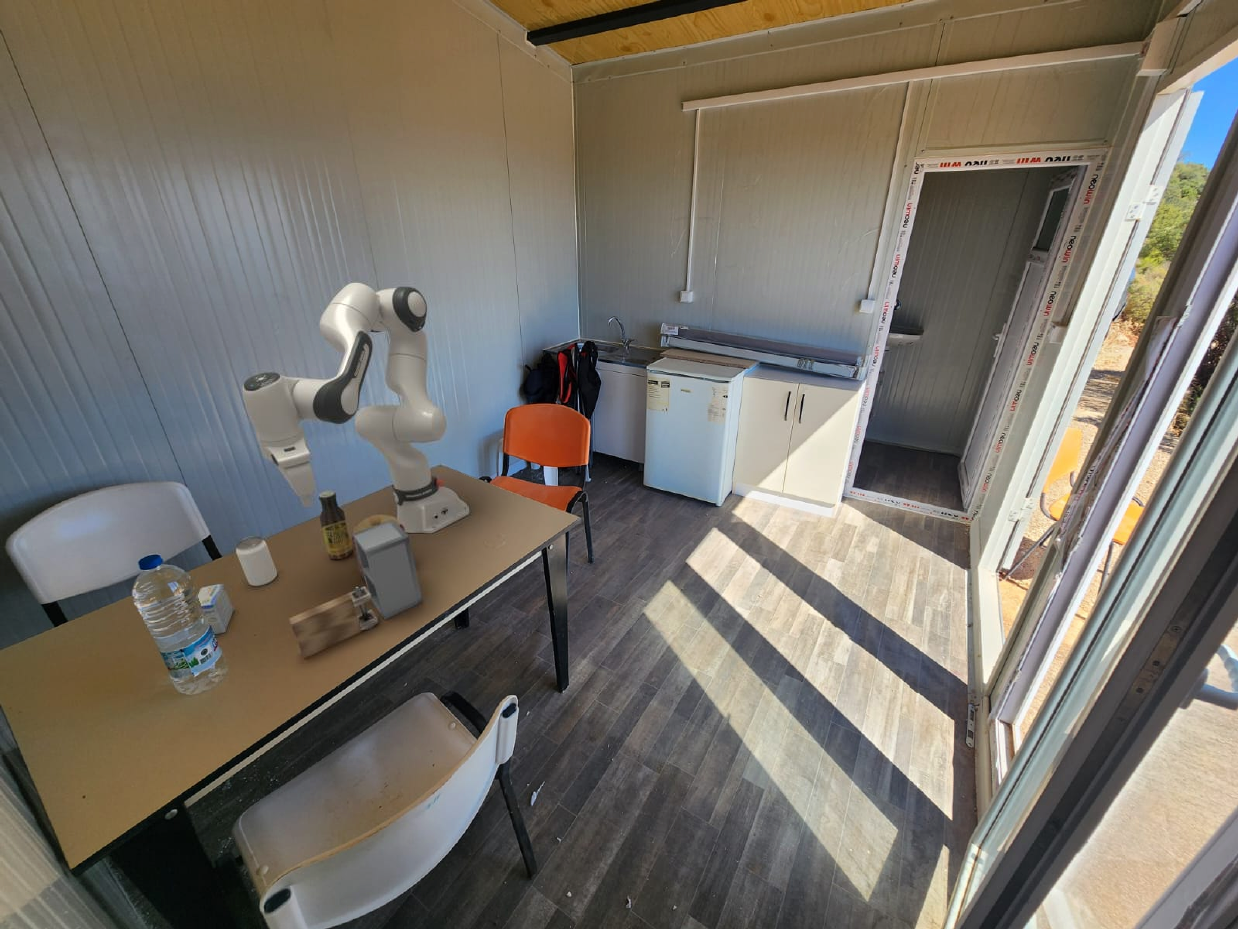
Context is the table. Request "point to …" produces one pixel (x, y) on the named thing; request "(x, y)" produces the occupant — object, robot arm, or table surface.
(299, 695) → the table surface
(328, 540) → the sauce bottle
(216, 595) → the medicine box
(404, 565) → the cabinet
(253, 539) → the can
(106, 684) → the table surface
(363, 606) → the hinge post
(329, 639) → the door
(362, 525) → the canister
